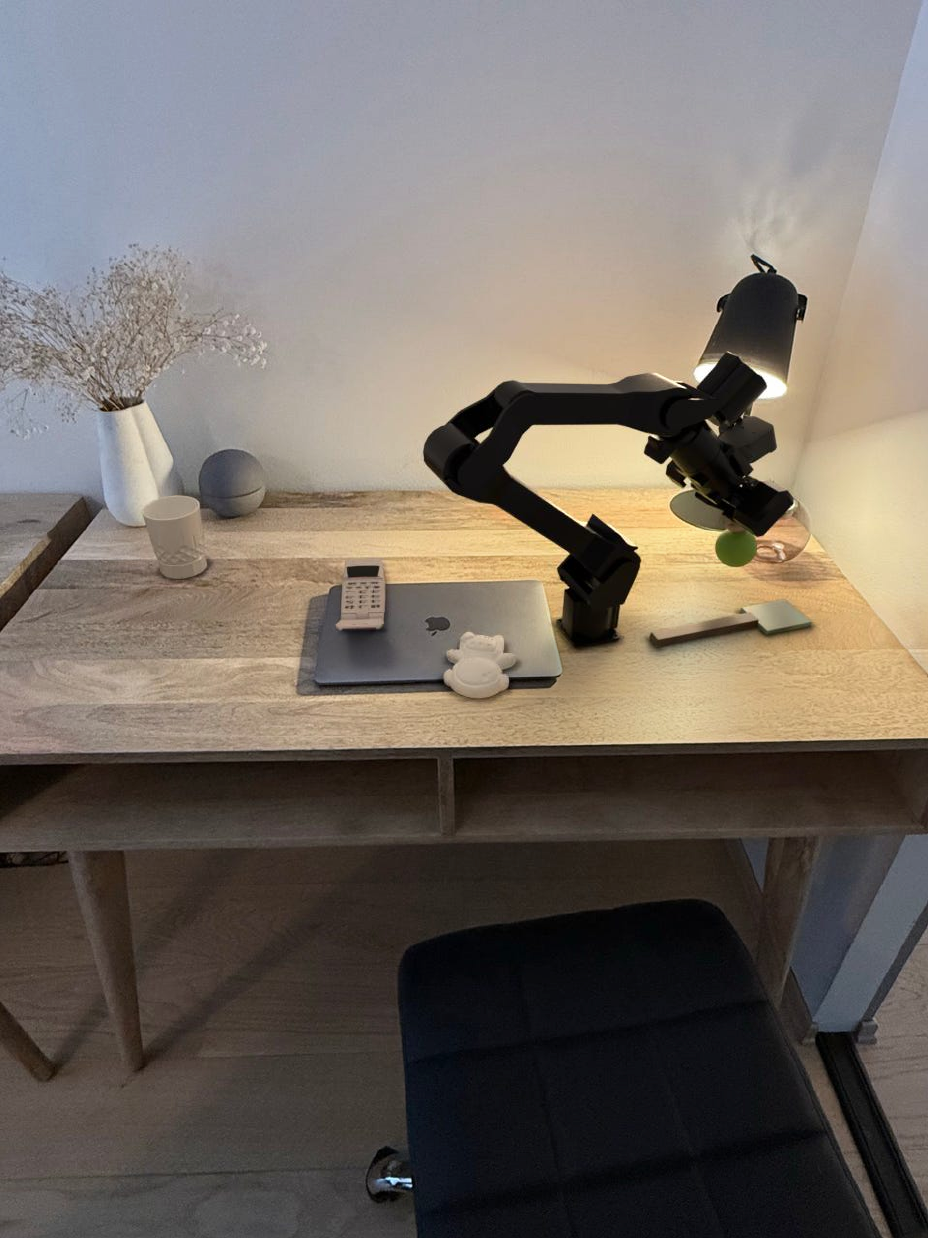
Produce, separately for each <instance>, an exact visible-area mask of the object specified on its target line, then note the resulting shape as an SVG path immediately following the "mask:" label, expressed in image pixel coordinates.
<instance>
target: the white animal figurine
mask: <svg viewBox="0 0 928 1238" xmlns="http://www.w3.org/2000/svg"><path fill="white" fill-rule="evenodd" d="M459 642H460V643H459V646H458V649H454V648H451V649H449V650H447V651H446V655H445V656H446V658H447V661H448V662H449V663H452V664H453V666H452V669H451V668H448V669H446V670H445V671H444V673H443V682H444V684H445V685H446V686H447V687H450V688H451V689H452V690H453V691H454V692H455V693H457V694H459V695H461V696H463V697H467V698H471V699H486V698H489V697H492V696H495V695H497V694H498V693H499V692H503V691H505V690H507V689H508V688H509V685H510V678H509V676H508V675H507V674H506V673H503V671H504V670H507V669H509V668H512V667H513V666H514V665H515V664H516V663H517V661H518V657H517V655H516V654H513V653H511V652H508V653H507V652H504V650H505V640H504V637H503V636H502V635H500V634H495V635H494V636H492V637H491V636H487V635H483V634H474V632H472V631H466V632H464V633H463V634H462V636H461V637H460V638H459Z"/></svg>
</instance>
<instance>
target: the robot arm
mask: <svg viewBox="0 0 928 1238" xmlns="http://www.w3.org/2000/svg"><path fill="white" fill-rule="evenodd" d="M767 389H768V385H767V382H766V380H765V378H764V377H763V376H762V375H761V374H758V373H757V372H756V371H755V370H754V369H753V368H751V367H750V365H748V364H746V363H745V362H743V361H742V359H741V358H740V356H739V355H737V354H734V353H732V352H729V351H726V352H724V353H723V355H721V357H720V358H719V359H718V361H717V363H716V364H715V366H714V367H713V368H712V369H711V370H710V371H709V372H708V373H707V375H705V376H704V378H703V379H702V380H701V381H699V383H698V384H697V385H696V387H695V386H693V385H690V384H688V383H686V382H684V381H682V380H681V381H680V380H670V379H669V378H667V377H664V376H663V375H660V374H659V373H656V372H645V373H640V374H634V375H629V376H628V375H627V376H626V377H624V378H622V379H620V380H618V381H616V382H611V383H561V382H550V383H549V382H521V381H518V380H515V379H511V380H506V381H503V382H501V383H499V384H498V385H497V386H495V388H494V389H492V390H491V391H490V392H489V393H488V394H487V395H486V396H484V397H482V398H481V399H479V400H477V401H475V402H473V403H472V404H469V405H468V406H465V407H464V408H462V409H461V410H460V409H459V411H457V413H456V414H454V415H453V416H452V417H451V418H450V419H448V421H447V422H446V423H445V424H443V425H440V426H439V427H436V428H435V429H434V430H432V431H431V433H430V434H429V435H428V436H427V437H426V440H425V442H424V444H423V450H422V455H423V462H424V464H425V465H426V467H428V469H429V470H430V471H431V472H432V473H433V474H434V475H435V476H436V477H437V478H438V479H439V480H440V481H441V482H442V483H443V484H444V485H445V487H447V488H448V490H450V491H451V492H452V493H453V494H455V495H457V496H460V497H461V498H465V499H467V500H471V501H473V502H476V503H479V504H484V505H485V504H487V505H493V506H496V507H497V508H499V509H500V510H502V511H504V512H505V513H507V514H508V515H510V516H512V517H513V518H514V519H516V520H517V521H519V522H520V523H522V524H524V525H526V526H527V527H528V528H530V529H532V530H534V531H535V532H536V533H538V534H540V535H541V536H542V537H544V538H545V539H547V540H548V541H550V542H552V543H554V544H555V545H556V546H558V547H560V548H561V549H563V550H564V551H565V552H567V553H568V555H567V556H566V557H565V558H564V560H562V562H561V563H559V565H558V566H557V568H556V572H557V575H558V577H559V581H561V582H562V583H564V584H565V585H566V586H567V587H568V588H565V589H564V590H563V602H562V614H561V617H560V618H557V619H556V621H555V625H557V627H558V628H559V630H560V631H561V632H562V633H563V635H564V636H565V637H566V639H567V640H568V641H569V643H570V644H571V646H572V647H573V648H575V649H581V648H586V647H592V646H596V645H602V644H607V643H612V642H617V641H619V640H620V639H621V638H620V637H621V635H620V634H619V632H618V631H617V630H616V629H617V628H618V627H619V618H620V611H621V606H623V605H624V604H625V603H626V601H627V598H628V597H629V594H630V592H631V590H632V588H633V586H634V583H635V582H636V579H637V577H638V575H639V571H640V569H641V563H642V558H641V556H640V555H639V554H638V553H637V552H636V551H637V550H638V549H639V546H638V545H637V544H635V543H634V542H633V541H632V540H630V539H629V538H628V537H626V536H625V535H624V534H622V532H620V531H619V530H618V529H617V528H615V527H614V526H612V525H611V524H610V523H609V524H608V523H606V522H605V521H604V520H602V519H601V518H600V517H599V516H598V515H596V514H595V513H594V512H593V513H592V514H591V515H590V517H589V519H588V520H587V521H581V520H578V519H577V518H575V517H574V516H572V515H571V514H569V513H568V512H567V511H565V510H563V509H562V508H561V507H559V506H557V504H555V503H554V502H552V501H550V500H549V499H548V498H546V497H544V496H543V495H542V494H540V493H539V492H537V490H535V489H534V488H532V487H531V486H529V485H528V484H526V483H525V482H523V481H521V480H520V479H519V478H517V477H516V476H514V475H513V474H511V473H510V472H509V470H507V468H506V467H505V466H504V465H505V464H506V463H507V462H508V461H509V460H510V459H511V457H512V455H513V454H514V452H515V450H516V448H517V446H518V444H519V442H520V441H521V439H522V438H523V435H524V434H525V433H526V432H527V431H529V429H531V427H532V426H611V425H612V426H614V425H615V426H622V427H626V428H629V429H632V430H634V431H635V430H636V431H638V432H640V433H645V434H649V435H648V436H647V443H646V444H645V445H644V449H643V454H644V455H645V456H647V457H648V458H649V459H651V460H653V461H655V462H656V463H657V464H659V465H663V464H665V463H666V461H667V460H668V459H669V458H671V460H670V461H669V462H668V463H667V464H666V468H665V469H666V470H665V476H666V477H667V478H668V479H669V480H670V481H671V482H672V483H673V484H674V485H676V486H677V487H679V488H680V489H682V490H683V489H684V488H686V487H687V485H688V484H687V483H686V482H685V480H686V479H688V480H689V481H690V487H691V489H692V490H693V491H694V492H695V493H694V497H695V498H696V499H698V500H699V501H701V502H702V503H704V504H705V505H707V506H710V507H712V508H714V509H716V510H717V509H718V510H721V511H722V513H721V515H722V516H723V517H726V519H727V518H728V519H730V520H731V521H733V522H735V523H738V524H739V525H740V526H741V527H742V528H744V529H745V530H747V531H748V532H750V533H751V534H753V535H754V537H755V538H759V537H760V538H761V537H764V536H765V535H766V534H767V533H768V532H769V530H771V529H772V527H774V526H775V524H776V523H777V522H778V521H780V519H781V518H782V517H783V516H784V515H785V514H786V513H787V511H789V510H790V508H792V506H793V505H794V504H795V498H794V496H793V495H792V494H791V492H790V491H789V490H788V489H787V488H785V487H783V486H781V485H780V484H778V483H776V482H775V481H774V482H775V483H774V482H772V481H773V480H772V479H771V480H768V479H763V480H759V479H758V478H756V477H753V476H751V473H753V471H754V467H753V466H752V465H751V464H754V463H756V462H758V461H759V460H760V459H762V458H763V457H765V456H766V455H769V454H770V453H773V452H775V451H776V450H777V448H778V443H777V438H776V433H775V427H774V424H772V423H770V422H768V421H766V420H764V419H762V418H760V417H758V416H755V415H748V414H745V413H746V411H748V409H750V408H751V406H752V405H753V404H754V403H755V401H757V400H758V398H759V397H760V396H761V395H762V394H763V393H764V392H765V391H766V390H767ZM707 421H709V422H710V423H712V424H713V425H715V426H717V427H718V433H719V434H718V435H717V433H716V432H715V431H714V429H713V428H712V426H710V425H709V423H708V422H707ZM489 430H490V432H489V434H488V435H487V436H486V437H485V438H484V439H483V440H482V441H481V442H480V441H479V440H478V439H477V437H478V436H479V435H481V434H483V433H485V432H487V431H489ZM728 519H727V520H728Z"/></svg>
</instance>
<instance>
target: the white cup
mask: <svg viewBox="0 0 928 1238" xmlns="http://www.w3.org/2000/svg"><path fill="white" fill-rule="evenodd" d="M201 510H202V509H201V505H200V501H199V500H198V499H197V498H194V497H192V496H189V495H170V496H169V495H167V496H163V497H160V498H157V499H153V500H152V501H150V502H148V503H146V504H145V505H144V506H143V508H142V509H141V514H142V517H143V520H144V523H145V528H146V530H147V534H148V537H149V542H150V544H151V546H152V550H153V553H154V555H155V558H156V561H157V564H158V568H159V571H160V574H162V575H163V576H164V577H165V578H168V579H172V580H183V579H188V578H192V577H196V576H198V575H199V574H201V573H203V572H204V571H205V570H206V569H207V568H208V561H207V555H206V549H207V547H206V537H205V532H204V525H203V518H202V511H201Z"/></svg>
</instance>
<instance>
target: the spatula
mask: <svg viewBox="0 0 928 1238" xmlns="http://www.w3.org/2000/svg"><path fill="white" fill-rule="evenodd" d="M812 624H813V621H812V620H810V619H809V617H807V616H806V615H805V614H804V613H802V612H801V611H800V610H798V609H797V608H796V607H795V606H794V605H793V604H791V603H790V602H788V601H787V600H786V599H785V598H783V599H778V600H773V601H768V602H763V603H758V604H752V605H748V606H743V607H741V608H740V613H739V614H733V615H727V616H724V617H719V618H713V619H709V620H708V619H707V620H703V621H699V622H698V621H697V622H693V623H688V624H682V625H678V626H673V627H672V626H671V627H668V628H662V629H657V630H651V631H650V634H649V640H650V642H651V643H653V645H654V646H655V647H656V648H660V647H665V646H666V647H667V646H671V645H677V644H680V643H685V642H690V641H696V640H701V639H705V638H710V637H714V636H721V635H725V634H730V633H735V632H740V631H744V630H751V629H754V628H758V629H759V630H760V631H761V632H762V633H763V634H765V635H766V636H770V635H775V634H778V633H784V632H789V631H793V630H798V629H803V628H807V627H811V626H812Z"/></svg>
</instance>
